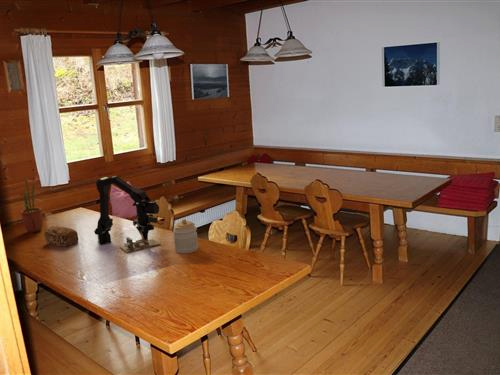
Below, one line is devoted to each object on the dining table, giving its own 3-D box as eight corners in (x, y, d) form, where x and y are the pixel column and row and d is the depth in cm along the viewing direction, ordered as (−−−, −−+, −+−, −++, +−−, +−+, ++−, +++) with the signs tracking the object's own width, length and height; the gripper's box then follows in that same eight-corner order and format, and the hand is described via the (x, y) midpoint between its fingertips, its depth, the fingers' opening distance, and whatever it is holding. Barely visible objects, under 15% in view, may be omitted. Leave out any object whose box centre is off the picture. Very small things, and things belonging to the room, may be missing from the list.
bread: (45, 244, 295) (42, 228, 293) (59, 238, 304) (57, 223, 302) (65, 247, 286) (62, 231, 284) (79, 242, 295) (77, 226, 292)
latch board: (126, 253, 267) (125, 242, 266) (120, 248, 277) (119, 237, 275) (160, 245, 278) (159, 234, 276) (153, 240, 287) (152, 230, 285)
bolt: (125, 247, 271) (124, 237, 270) (124, 246, 273) (122, 236, 272) (148, 241, 278) (147, 232, 277) (146, 240, 280) (145, 231, 279)
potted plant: (24, 230, 328) (15, 180, 321) (48, 226, 334) (40, 177, 327) (24, 237, 312) (14, 184, 305) (49, 232, 319) (41, 181, 311)
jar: (194, 254, 259) (191, 222, 255) (171, 253, 262) (168, 222, 258) (201, 245, 271) (198, 215, 268) (179, 245, 274) (176, 216, 270)
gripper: (161, 213, 271) (164, 239, 274) (149, 207, 286) (152, 232, 290) (142, 217, 265) (145, 244, 269) (131, 211, 281) (134, 236, 284)
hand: (145, 239), depth 278 cm, fingers closed on bolt, 3 cm apart
